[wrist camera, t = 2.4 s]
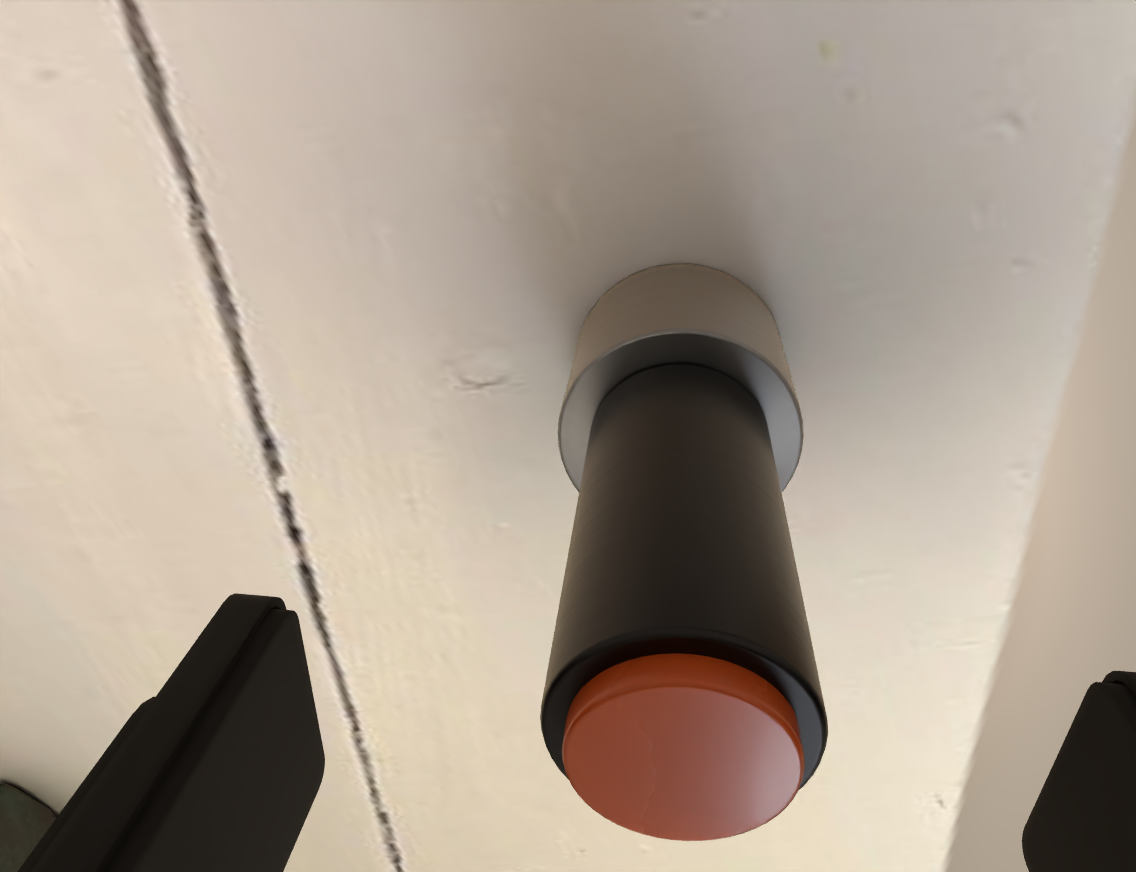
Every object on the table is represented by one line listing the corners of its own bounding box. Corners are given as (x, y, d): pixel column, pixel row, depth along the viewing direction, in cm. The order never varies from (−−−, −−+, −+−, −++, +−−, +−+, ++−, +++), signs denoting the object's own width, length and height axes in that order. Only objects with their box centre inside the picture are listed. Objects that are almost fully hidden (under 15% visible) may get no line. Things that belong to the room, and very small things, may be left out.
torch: (579, 257, 17) (471, 594, 8) (796, 268, 16) (943, 636, 7) (574, 441, 19) (487, 866, 10) (766, 454, 19) (851, 910, 10)
